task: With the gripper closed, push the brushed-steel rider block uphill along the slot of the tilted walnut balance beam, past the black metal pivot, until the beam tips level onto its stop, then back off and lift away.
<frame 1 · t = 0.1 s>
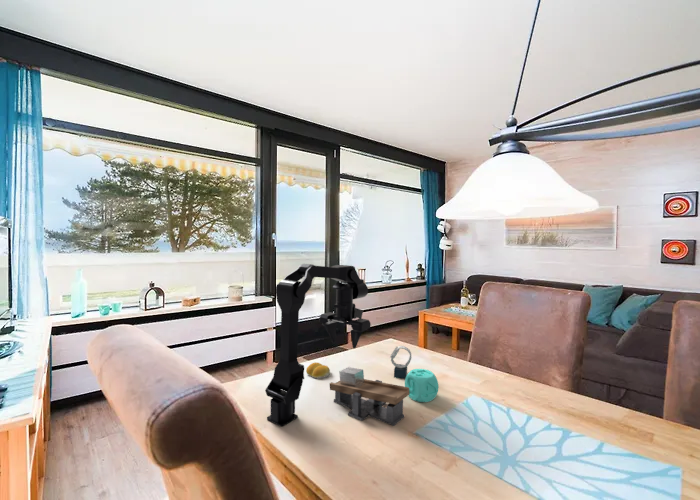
hand: (343, 345, 122), 14 cm above the table, fingers open, 9 cm apart
stand: (367, 409, 106), on the table
decorative dice: (421, 397, 115), on the table
watch: (400, 375, 132), on the table
bread roll: (317, 374, 133), on the table
beam: (367, 388, 106), point 6 cm above the table, hinge at -6.6°, touching rider
rider: (352, 384, 110), point 6 cm above the table, tilted 7°, touching beam
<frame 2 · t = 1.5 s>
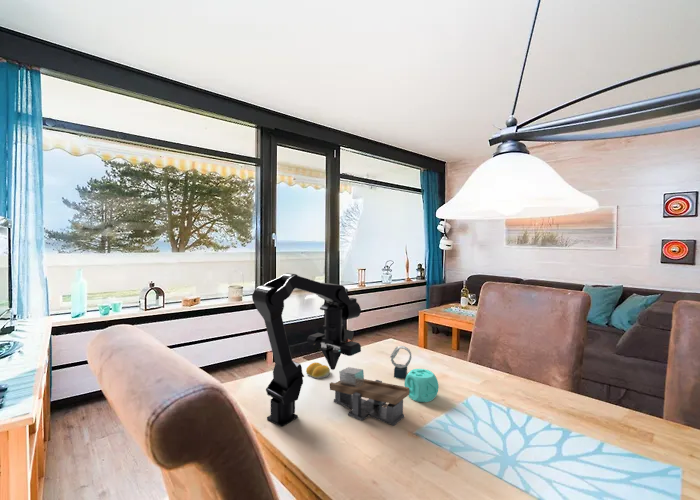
hand: (332, 369, 114), 9 cm above the table, fingers closed
nothing on the table moved.
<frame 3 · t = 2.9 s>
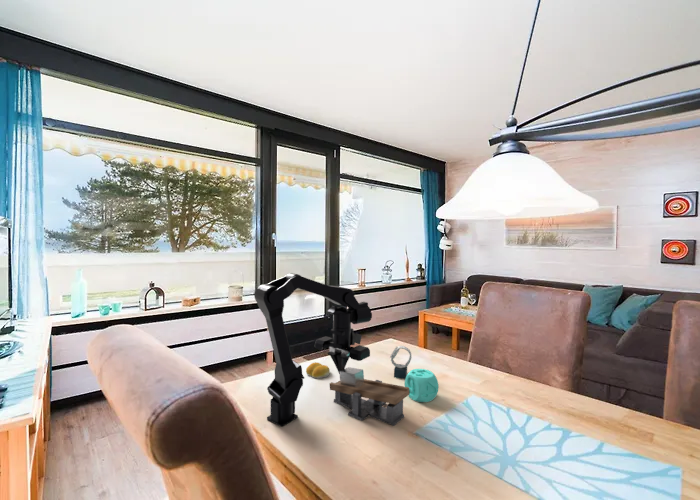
hand: (341, 373, 113), 8 cm above the table, fingers closed
rider: (352, 384, 110), point 6 cm above the table, tilted 7°, touching beam, gripper
everything else where it was.
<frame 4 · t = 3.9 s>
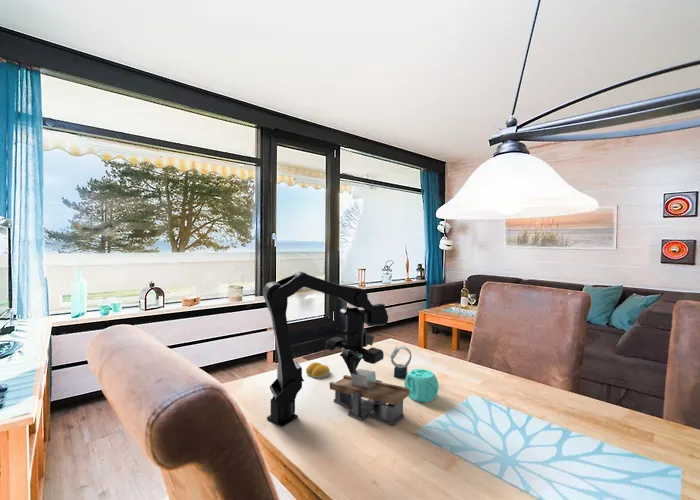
hand: (352, 375, 110), 9 cm above the table, fingers closed
beam: (367, 388, 106), point 6 cm above the table, hinge at -5.7°, touching rider
rider: (363, 387, 107), point 6 cm above the table, tilted 6°, touching beam, gripper
everything else where it was.
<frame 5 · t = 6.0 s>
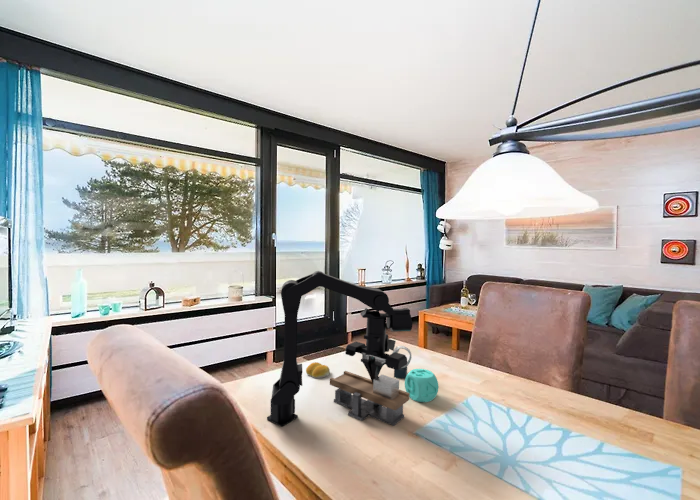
hand: (374, 382, 105), 9 cm above the table, fingers closed
beam: (368, 388, 106), point 6 cm above the table, hinge at 1.2°, touching rider
rider: (385, 394, 102), point 6 cm above the table, touching beam, gripper
everything else where it was.
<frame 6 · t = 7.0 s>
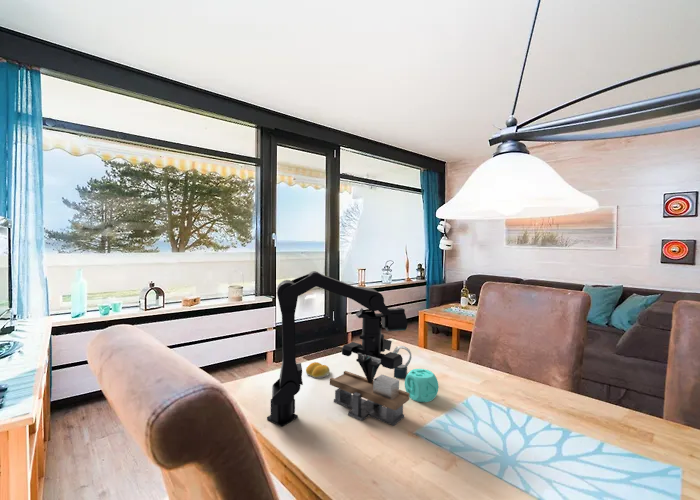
hand: (370, 382, 105), 9 cm above the table, fingers closed
rider: (385, 394, 102), point 6 cm above the table, touching beam
everything else where it was.
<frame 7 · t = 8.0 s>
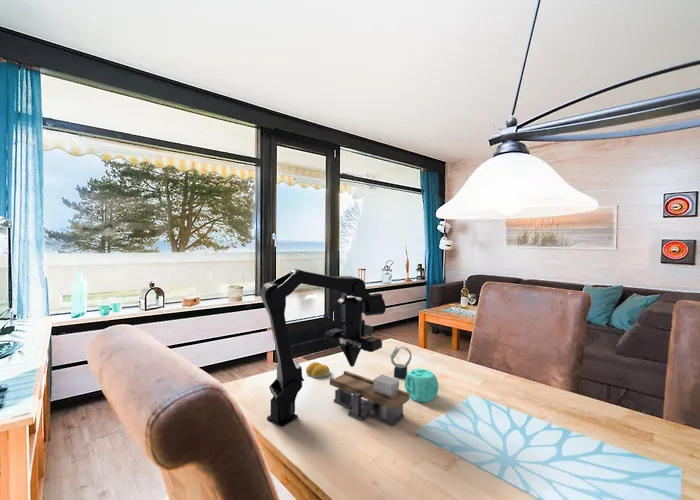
hand: (352, 366, 109), 12 cm above the table, fingers closed
nothing on the table moved.
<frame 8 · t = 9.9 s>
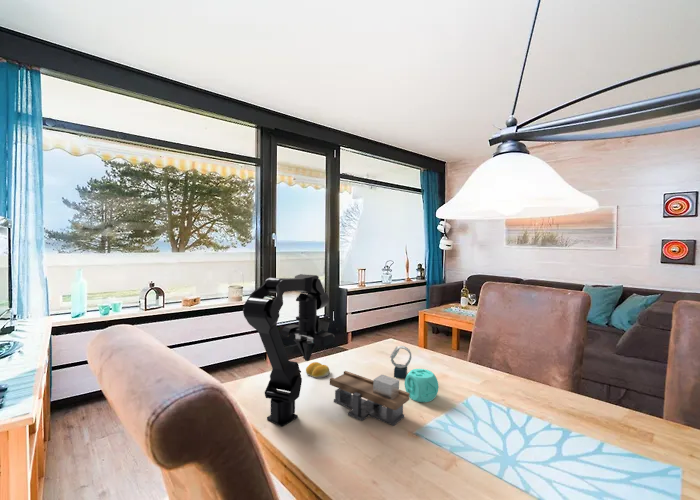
hand: (307, 360, 113), 12 cm above the table, fingers closed
nothing on the table moved.
at the end: beam at +1° (first picture: -7°); rider inside the target area on the stand (0.6 cm from its centre), point 6.5 cm above the stand's base; rider tilted 1° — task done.
